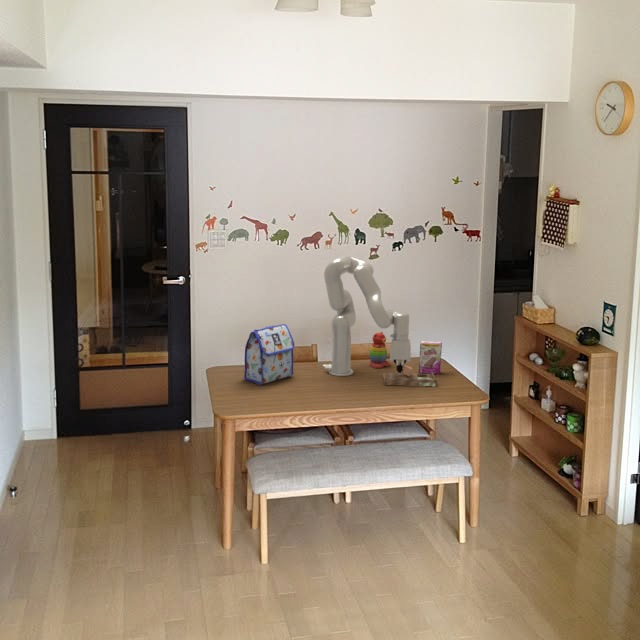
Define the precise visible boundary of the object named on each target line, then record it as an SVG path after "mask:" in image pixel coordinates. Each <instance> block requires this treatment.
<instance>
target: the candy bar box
mask: <svg viewBox="0 0 640 640" xmlns="http://www.w3.org/2000/svg"><path fill="white" fill-rule="evenodd" d="M442 344H443V343H442V342H441V341H427V340H420V343H419V357H418V358H419V360H418V374H431V371H433V374H434V375H440V374H441V366H442V365H441V363H442V351H443V350H442V349H443V348H442V347H443V345H442Z"/></svg>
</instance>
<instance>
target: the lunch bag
mask: <svg viewBox="0 0 640 640" xmlns="http://www.w3.org/2000/svg"><path fill="white" fill-rule="evenodd" d="M249 333H250V334H249V336H248V339H247V341H246V344H245V347H244V358H243V359H244V375H243V378H244V380H246V381H248V382H252V383H255V384H258V385H260V386H262V385H264V384H268V383H270V382H274V381H278V380H281V379H285V378H288V377H292V376H294V349H295V341H294V338H293V336H292V334H291V332H290V329H289V327H288V326H287V324H284V323H283V324H278V325H271V326H270V325H269V326H265V327H263V328H260V329H254V330H253V331H251V332H249Z"/></svg>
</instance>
